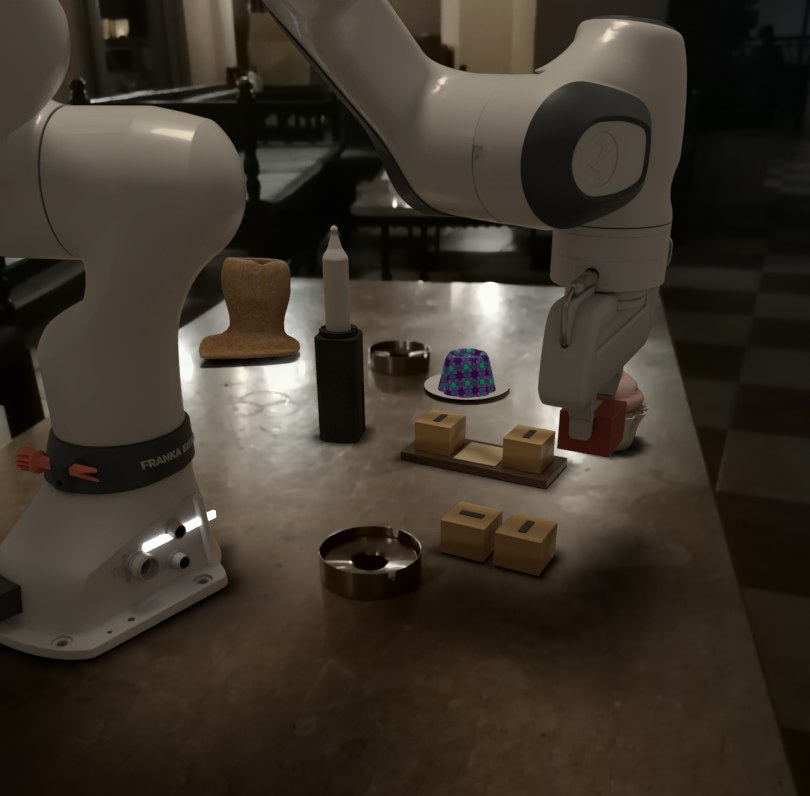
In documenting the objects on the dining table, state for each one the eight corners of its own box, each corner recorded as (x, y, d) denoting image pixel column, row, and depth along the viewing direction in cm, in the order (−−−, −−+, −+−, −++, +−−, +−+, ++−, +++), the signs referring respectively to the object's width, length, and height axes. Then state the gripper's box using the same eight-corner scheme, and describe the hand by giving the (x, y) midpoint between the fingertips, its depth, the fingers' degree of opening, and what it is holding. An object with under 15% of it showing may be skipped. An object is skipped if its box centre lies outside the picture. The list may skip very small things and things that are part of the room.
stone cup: (299, 341, 148) (293, 247, 141) (300, 364, 138) (294, 263, 131) (206, 345, 147) (195, 250, 140) (199, 368, 136) (187, 266, 129)
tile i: (483, 562, 85) (484, 528, 83) (440, 551, 87) (440, 518, 85) (501, 542, 88) (503, 509, 87) (459, 532, 90) (460, 499, 89)
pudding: (492, 372, 134) (493, 337, 131) (522, 399, 123) (524, 362, 121) (414, 380, 131) (414, 344, 128) (438, 408, 121) (438, 370, 118)
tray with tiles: (545, 489, 99) (548, 450, 97) (400, 459, 106) (399, 422, 104) (566, 465, 104) (570, 428, 102) (426, 438, 112) (427, 403, 109)
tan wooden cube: (538, 576, 83) (541, 541, 81) (492, 565, 85) (494, 531, 83) (555, 554, 86) (557, 521, 84) (511, 544, 88) (512, 511, 86)
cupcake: (624, 464, 104) (634, 381, 99) (552, 446, 109) (558, 365, 104) (657, 439, 111) (668, 360, 106) (588, 423, 116) (596, 346, 111)
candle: (357, 443, 110) (350, 230, 98) (317, 440, 111) (305, 229, 99) (367, 428, 115) (361, 222, 103) (328, 425, 116) (318, 221, 104)
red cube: (608, 458, 75) (612, 417, 73) (556, 449, 77) (559, 408, 75) (623, 439, 79) (627, 400, 77) (573, 430, 80) (576, 392, 79)
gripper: (611, 290, 61) (591, 477, 68) (677, 239, 77) (657, 394, 84) (522, 281, 63) (512, 462, 70) (605, 233, 79) (590, 384, 86)
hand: (591, 425), depth 77 cm, fingers closed on red cube, 4 cm apart
